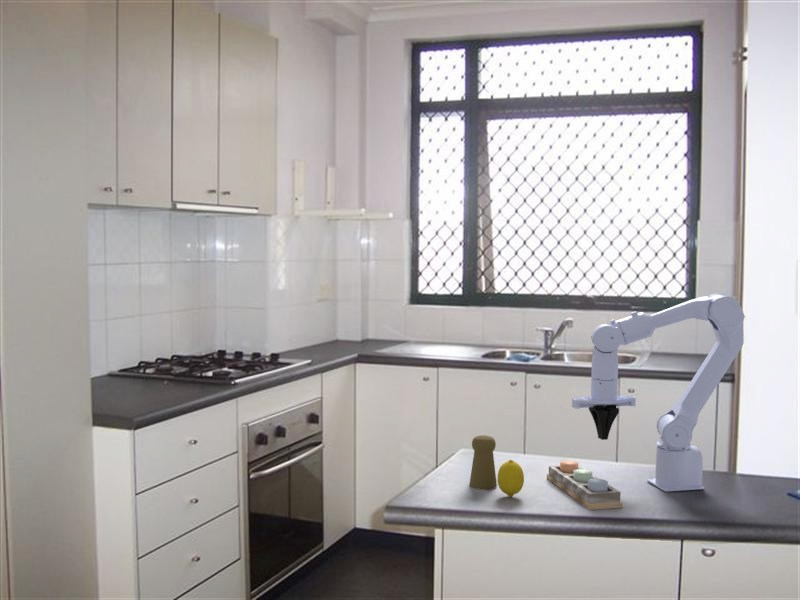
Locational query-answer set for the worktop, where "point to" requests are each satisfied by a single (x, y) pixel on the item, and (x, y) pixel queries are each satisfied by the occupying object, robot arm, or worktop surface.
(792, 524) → the worktop surface
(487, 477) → the pepper mill
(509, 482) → the lemon
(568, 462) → the button terracotta
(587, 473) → the button sage
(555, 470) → the panel
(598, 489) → the button slate
